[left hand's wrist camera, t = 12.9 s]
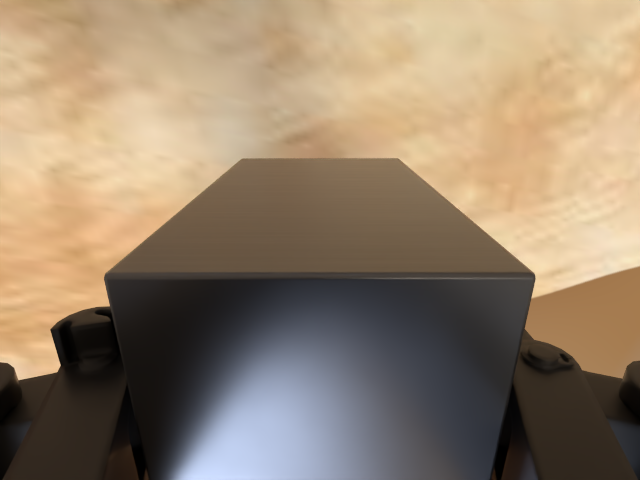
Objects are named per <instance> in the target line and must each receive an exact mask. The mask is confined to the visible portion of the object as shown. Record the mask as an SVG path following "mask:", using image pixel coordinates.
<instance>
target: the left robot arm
mask: <svg viewBox="0 0 640 480" xmlns="http://www.w3.org/2000/svg"><path fill="white" fill-rule="evenodd" d="M50 330H51V333H52V337H53V340H54V344H55V347H56V350H57V354H58V357H59V361H60V364H61V366H60V368H59V370H58V372H57V373H53V374H48V375H43V376H38V377H33V378H28V379H23V380H18V378H17V375H16V372H15V369H14V368H13V367H12V366H11V365H9V364H8V363H1V362H0V480H149V479H148V474H147V470H146V465H145V461H144V456H143V452H142V447H141V443H140V438H139V434H138V429H137V425H136V420H135V416H134V411H133V407H132V402H131V398H130V393H129V389H128V384H127V380H126V375H125V371H124V366H123V362H122V357H121V353H120V348H119V344H118V339H117V335H116V330H115V326H114V321H113V317H112V312H111V308H110V307H95V308H91V309H86V310H82V311H79V312H77V313H74V314H71V315H69V316H67V317H66V318H64V319H62V320H60V321H59V322H57V323H56V324H55V325H54V326H53V327H52V328H51V329H50ZM491 480H640V361H634V362H632V363H631V364H629V365H628V366H627V368H626V371H625V373H624V376H623V379H621V378H616V377H611V376H606V375H601V374H596V373H591V372H587V371H583V370H581V368H580V366H579V364H578V363H577V362H576V361H575V359H574V358H573V357H572V356H571V355H569V354H568V353H566V352H565V351H563V350H562V349H560V348H558V347H555V346H553V345H551V344H548V343H545V342H541V341H536V340H534V339H533V338H532V337H531V336H530V335H529V334H528V332H527V331H526V330H525V329H524V333H523V338H522V342H521V347H520V352H519V356H518V361H517V365H516V370H515V374H514V379H513V384H512V388H511V393H510V397H509V402H508V406H507V411H506V415H505V420H504V425H503V429H502V434H501V438H500V443H499V447H498V452H497V457H496V461H495V466H494V470H493V475H492V479H491Z"/></svg>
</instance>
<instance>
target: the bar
mask: <svg viewBox="0 0 640 480" xmlns="http://www.w3.org/2000/svg"><path fill="white" fill-rule="evenodd" d="M104 281H105V285H106V290H107V294H108V299H109V303H110V308H111V312H112V317H113V321H114V326H115V330H116V335H117V339H118V344H119V348H120V353H121V357H122V362H123V366H124V371H125V375H126V380H127V384H128V389H129V393H130V398H131V402H132V407H133V411H134V416H135V420H136V425H137V429H138V434H139V438H140V443H141V447H142V452H143V456H144V461H145V465H146V470H147V474H148V479H149V480H491V479H492V475H493V470H494V466H495V461H496V457H497V452H498V447H499V443H500V438H501V434H502V429H503V425H504V420H505V415H506V411H507V406H508V402H509V397H510V393H511V388H512V384H513V379H514V374H515V370H516V365H517V361H518V356H519V352H520V347H521V342H522V338H523V333H524V329H525V324H526V319H527V315H528V310H529V306H530V301H531V297H532V292H533V288H534V283H535V274H534V273H533V272H532V271H531V270H530V269H529V268H527V267H526V266H525V265H524V264H523V263H521V262H520V261H519V260H518V259H517V258H515V257H514V256H513V255H512V254H511V253H510V252H508V251H507V250H506V249H505V248H504V247H502V246H501V245H500V244H499V243H498V242H497V241H495V240H494V239H493V238H492V237H491V236H489V235H488V234H487V233H486V232H485V231H483V230H482V229H481V228H480V227H479V226H478V225H476V224H475V223H474V222H473V221H472V220H470V219H469V218H468V217H467V216H466V215H465V214H463V213H462V212H461V211H460V210H459V209H457V208H456V207H455V206H454V205H453V204H451V203H450V202H449V201H448V200H447V199H446V198H444V197H443V196H442V195H441V194H440V193H438V192H437V191H436V190H435V189H434V188H433V187H431V186H430V185H429V184H428V183H427V182H425V181H424V180H423V179H422V178H421V177H419V176H418V175H417V174H416V173H415V172H414V171H412V170H411V169H410V168H409V167H408V166H406V165H405V164H404V163H403V162H402V161H401V160H399V159H397V158H386V159H241V160H240V161H239V162H238V163H236V164H235V165H234V166H233V167H232V168H230V169H229V170H228V171H227V172H226V173H224V174H223V175H222V176H221V177H220V178H219V179H217V180H216V181H215V182H214V183H213V184H211V185H210V186H209V187H208V188H207V189H205V190H204V191H203V192H202V193H201V194H199V195H198V196H197V197H196V198H195V199H194V200H192V201H191V202H190V203H189V204H188V205H186V206H185V207H184V208H183V209H182V210H180V211H179V212H178V213H177V214H176V215H175V216H173V217H172V218H171V219H170V220H169V221H167V222H166V223H165V224H164V225H163V226H161V227H160V228H159V229H158V230H157V231H155V232H154V233H153V234H152V235H151V236H150V237H148V238H147V239H146V240H145V241H144V242H142V243H141V244H140V245H139V246H138V247H136V248H135V249H134V250H133V251H132V252H130V253H129V254H128V255H127V256H126V257H125V258H123V259H122V260H121V261H120V262H119V263H117V264H116V265H115V266H114V267H113V268H111V269H110V270H109V271H108V272H107V273H106V274H105V277H104Z"/></svg>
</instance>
